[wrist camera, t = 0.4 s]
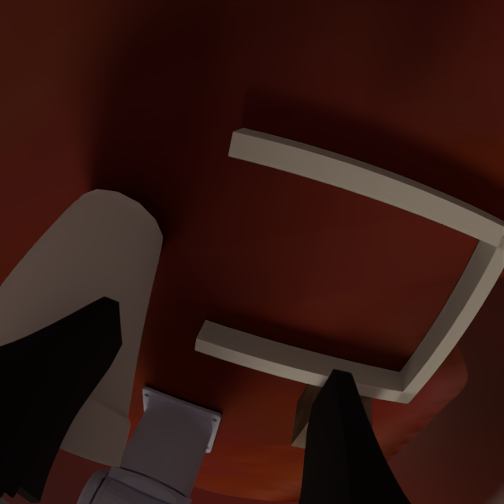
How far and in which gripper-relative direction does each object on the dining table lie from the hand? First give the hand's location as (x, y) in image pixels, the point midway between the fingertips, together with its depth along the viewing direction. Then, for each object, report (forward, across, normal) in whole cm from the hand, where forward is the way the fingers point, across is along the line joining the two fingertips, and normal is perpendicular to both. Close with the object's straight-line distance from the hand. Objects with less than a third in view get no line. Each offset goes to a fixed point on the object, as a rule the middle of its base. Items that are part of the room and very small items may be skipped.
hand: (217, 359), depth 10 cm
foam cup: (+9, +9, +2) cm, 13 cm away
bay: (+10, -5, +2) cm, 11 cm away
